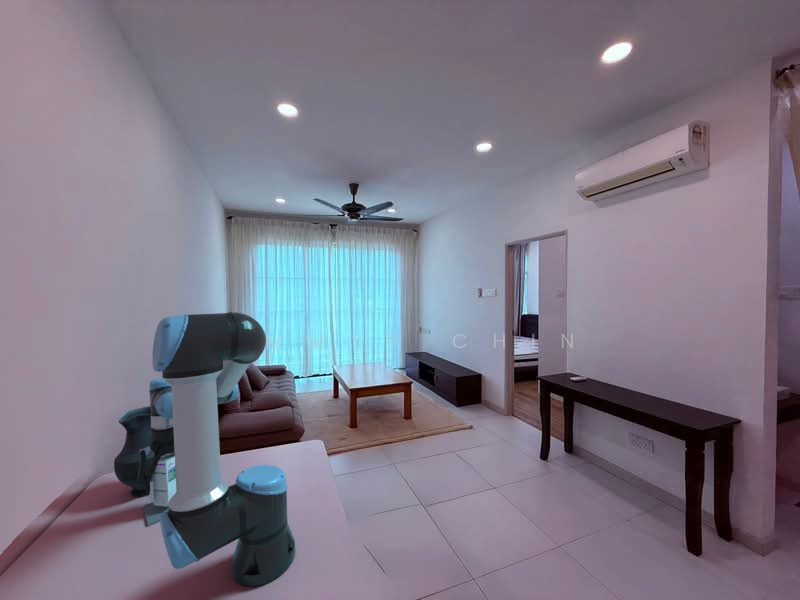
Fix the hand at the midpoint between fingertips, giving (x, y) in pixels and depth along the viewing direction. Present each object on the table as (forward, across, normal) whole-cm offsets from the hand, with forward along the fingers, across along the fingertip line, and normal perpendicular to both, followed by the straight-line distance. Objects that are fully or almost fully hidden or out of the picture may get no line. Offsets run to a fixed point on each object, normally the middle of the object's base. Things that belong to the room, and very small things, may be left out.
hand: (168, 493), depth 103 cm
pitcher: (+5, +2, -19) cm, 20 cm away
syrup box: (+2, 0, 0) cm, 2 cm away
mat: (+4, 0, 0) cm, 4 cm away
